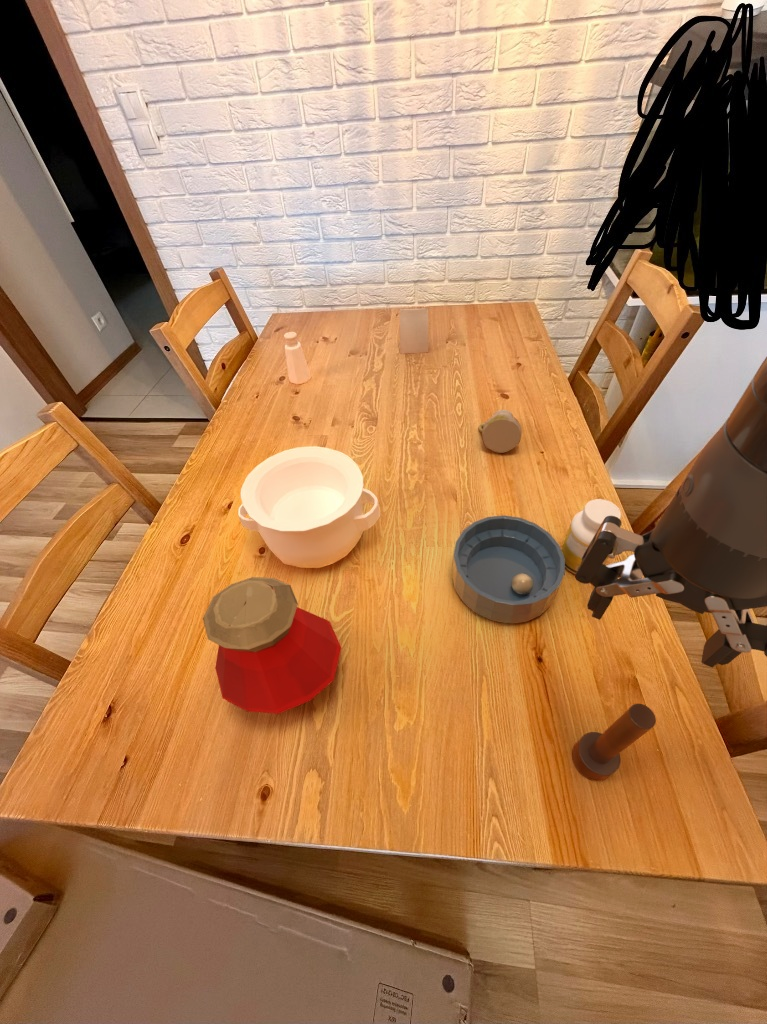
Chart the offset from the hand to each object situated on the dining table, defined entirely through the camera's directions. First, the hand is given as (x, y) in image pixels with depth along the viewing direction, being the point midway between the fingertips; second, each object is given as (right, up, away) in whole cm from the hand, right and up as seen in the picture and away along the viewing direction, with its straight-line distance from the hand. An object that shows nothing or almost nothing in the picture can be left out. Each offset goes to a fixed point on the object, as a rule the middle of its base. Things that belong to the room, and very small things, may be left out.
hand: (650, 631), depth 39 cm
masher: (+2, -19, +14) cm, 24 cm away
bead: (-3, 0, +27) cm, 28 cm away
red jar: (-35, -12, +23) cm, 44 cm away
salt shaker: (-42, +42, +70) cm, 92 cm away
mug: (0, +24, +52) cm, 57 cm away
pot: (-34, +6, +39) cm, 51 cm away
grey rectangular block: (-15, +50, +75) cm, 92 cm away
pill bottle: (+8, +3, +32) cm, 33 cm away
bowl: (-4, 0, +31) cm, 31 cm away
